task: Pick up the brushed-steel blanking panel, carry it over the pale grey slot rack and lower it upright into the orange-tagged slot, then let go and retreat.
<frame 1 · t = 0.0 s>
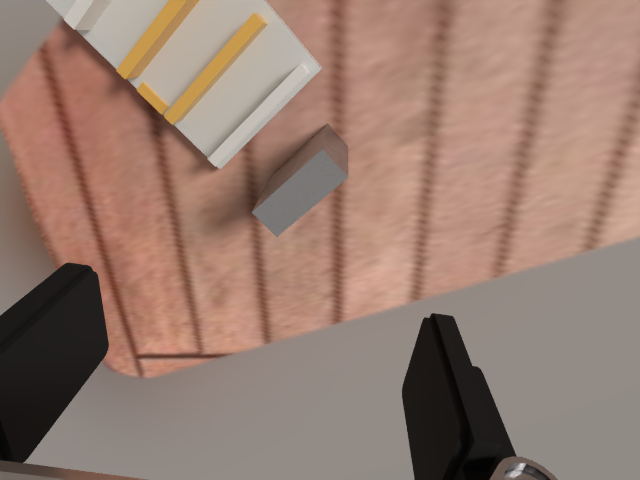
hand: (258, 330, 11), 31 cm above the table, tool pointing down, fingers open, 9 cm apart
blanking panel: (308, 160, 41), on the table
rack: (180, 22, 36), on the table
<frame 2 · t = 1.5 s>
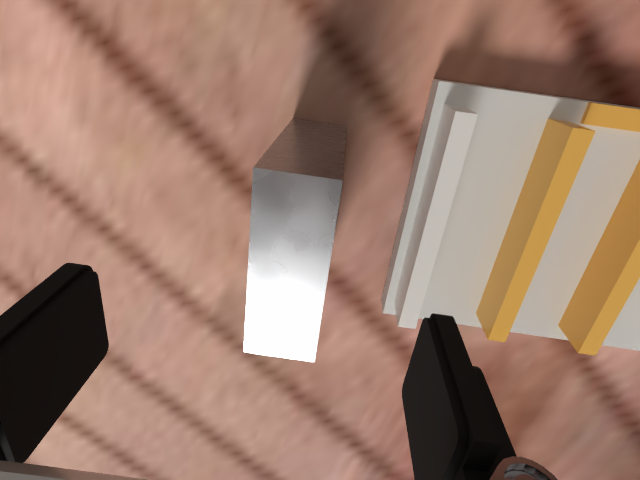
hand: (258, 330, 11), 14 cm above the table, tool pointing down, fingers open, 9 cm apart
blanking panel: (311, 189, 24), on the table
rack: (593, 230, 24), on the table
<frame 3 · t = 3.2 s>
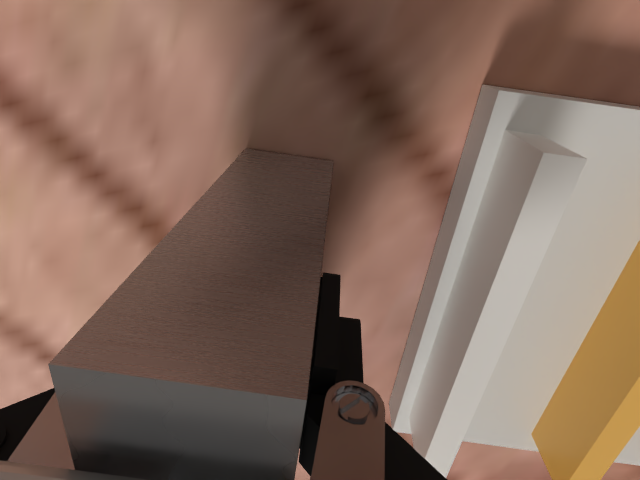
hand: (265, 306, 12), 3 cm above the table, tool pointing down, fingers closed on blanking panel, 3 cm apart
blanking panel: (280, 256, 15), on the table, touching gripper
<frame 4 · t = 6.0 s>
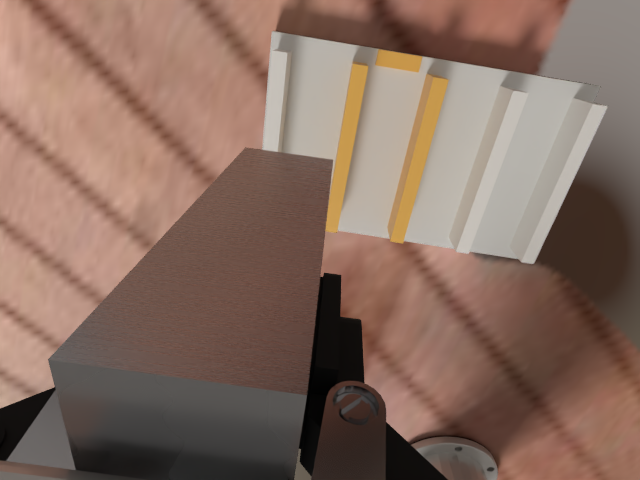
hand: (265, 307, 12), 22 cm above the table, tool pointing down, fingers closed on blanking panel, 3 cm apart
blanking panel: (280, 255, 15), point 18 cm above the table, touching gripper
rack: (408, 153, 32), on the table
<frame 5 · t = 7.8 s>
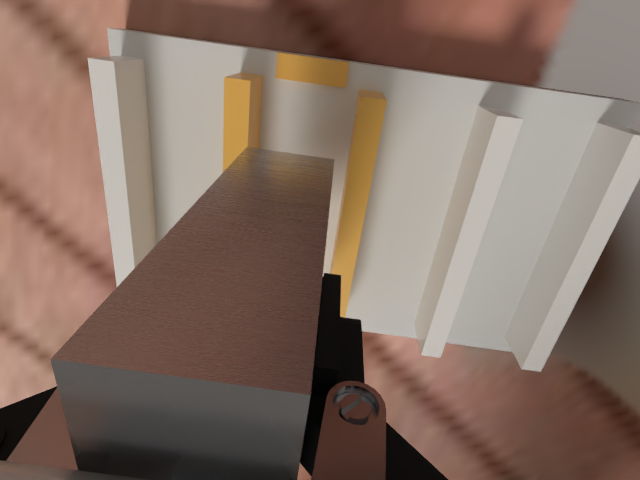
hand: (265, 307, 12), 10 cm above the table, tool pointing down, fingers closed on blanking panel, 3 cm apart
blanking panel: (281, 255, 15), point 7 cm above the table, touching gripper
rack: (348, 205, 21), on the table
when the fingers open (5 cm above the table, at t = 9.1 s): blanking panel stays where it is, resting on rack.
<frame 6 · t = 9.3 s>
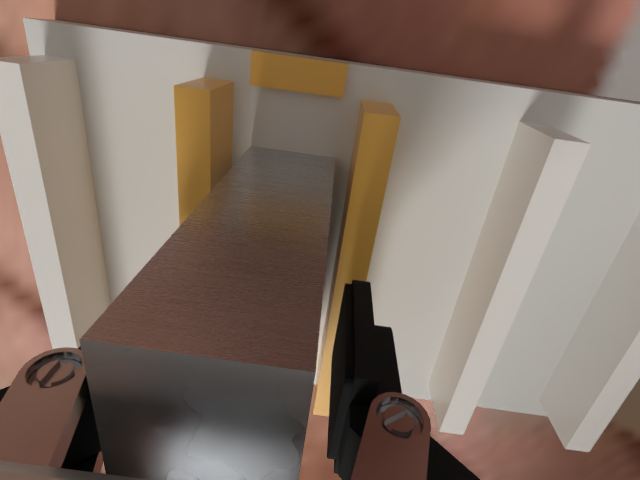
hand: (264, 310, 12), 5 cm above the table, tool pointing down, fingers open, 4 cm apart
blanking panel: (283, 251, 16), point 1 cm above the table, touching rack
rack: (347, 241, 17), on the table
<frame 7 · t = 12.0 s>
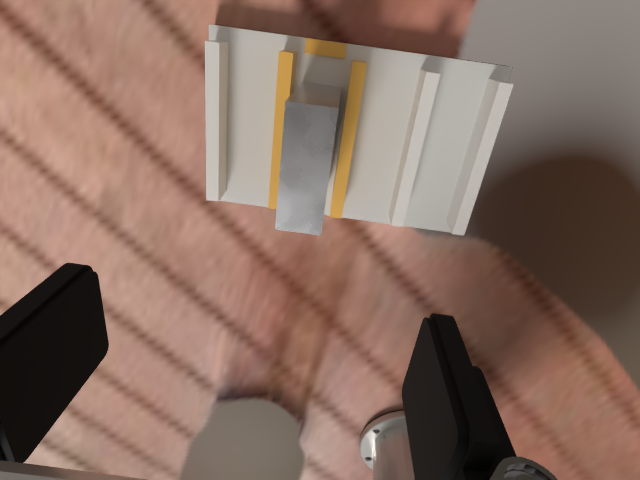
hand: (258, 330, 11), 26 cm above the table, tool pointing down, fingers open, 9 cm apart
blanking panel: (315, 135, 33), point 1 cm above the table, touching rack
rack: (346, 135, 34), on the table
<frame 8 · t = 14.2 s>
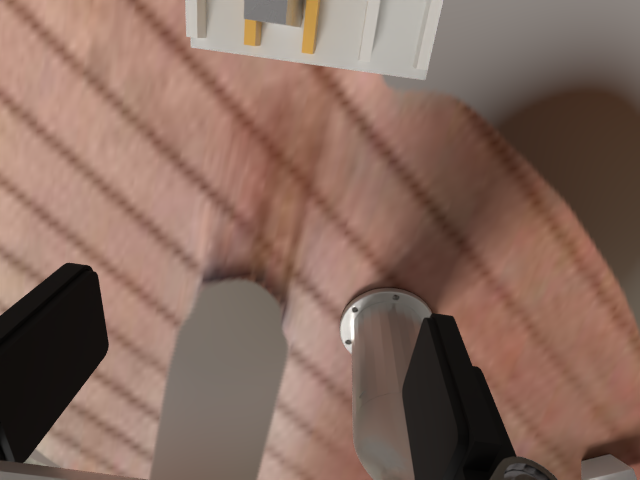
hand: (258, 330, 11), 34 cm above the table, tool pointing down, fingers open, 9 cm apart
figurine: (598, 464, 64), on the table
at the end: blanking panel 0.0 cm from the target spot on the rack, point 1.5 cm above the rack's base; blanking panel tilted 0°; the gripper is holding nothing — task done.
